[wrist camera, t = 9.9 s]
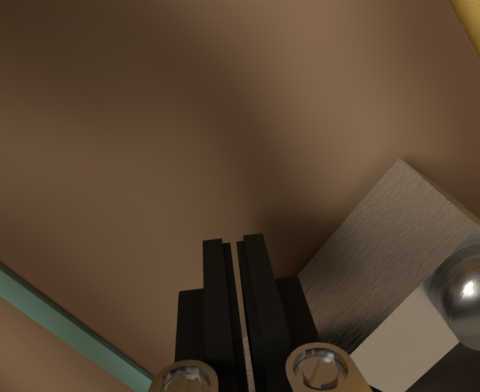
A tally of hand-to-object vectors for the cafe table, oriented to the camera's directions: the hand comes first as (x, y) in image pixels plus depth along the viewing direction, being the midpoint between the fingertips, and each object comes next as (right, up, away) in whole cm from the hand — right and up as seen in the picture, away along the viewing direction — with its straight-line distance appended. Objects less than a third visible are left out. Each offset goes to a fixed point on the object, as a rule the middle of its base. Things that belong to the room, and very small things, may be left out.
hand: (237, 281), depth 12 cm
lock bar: (+2, -2, +3) cm, 4 cm away
